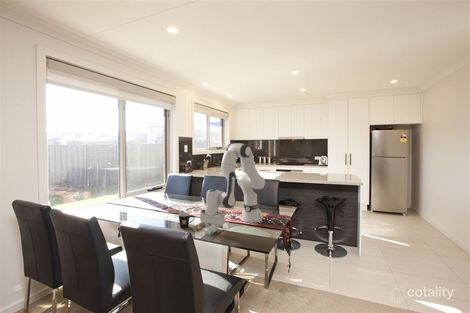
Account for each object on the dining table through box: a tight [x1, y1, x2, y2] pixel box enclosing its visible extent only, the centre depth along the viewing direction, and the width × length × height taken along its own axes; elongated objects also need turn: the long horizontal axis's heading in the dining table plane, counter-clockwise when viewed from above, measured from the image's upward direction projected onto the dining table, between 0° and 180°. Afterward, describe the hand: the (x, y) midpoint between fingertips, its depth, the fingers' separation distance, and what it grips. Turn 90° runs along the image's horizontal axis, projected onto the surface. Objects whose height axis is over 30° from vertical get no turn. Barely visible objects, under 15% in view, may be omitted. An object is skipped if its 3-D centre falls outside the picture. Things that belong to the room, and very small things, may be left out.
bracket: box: [204, 224, 217, 236], centre depth 175 cm, size 7×5×6 cm
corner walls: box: [193, 221, 224, 232], centre depth 182 cm, size 17×16×4 cm
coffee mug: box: [178, 212, 195, 229], centre depth 186 cm, size 12×9×10 cm
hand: (212, 229), depth 174 cm, fingers open, 6 cm apart
